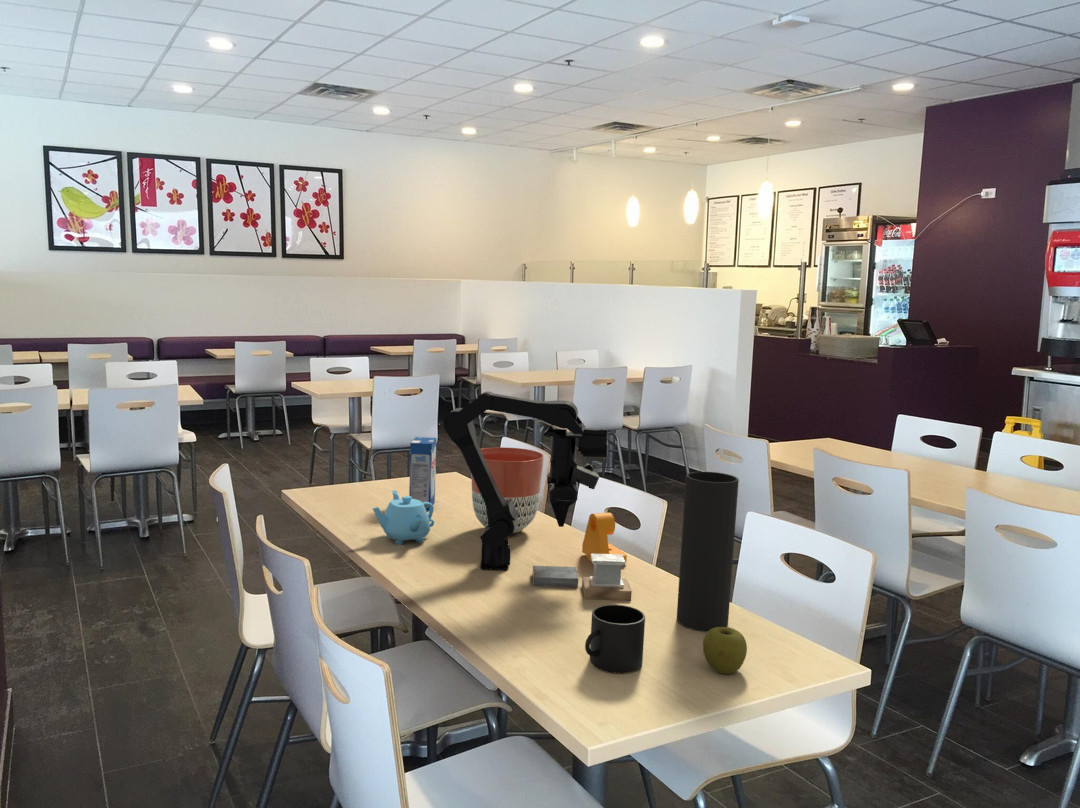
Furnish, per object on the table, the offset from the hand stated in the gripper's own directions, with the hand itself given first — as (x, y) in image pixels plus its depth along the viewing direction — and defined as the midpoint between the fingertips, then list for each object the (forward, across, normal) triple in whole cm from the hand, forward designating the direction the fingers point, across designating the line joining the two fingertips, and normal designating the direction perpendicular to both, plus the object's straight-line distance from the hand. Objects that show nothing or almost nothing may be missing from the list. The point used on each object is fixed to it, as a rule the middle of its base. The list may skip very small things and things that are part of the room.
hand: (560, 521), depth 198 cm
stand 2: (+12, -14, -10) cm, 21 cm away
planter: (+12, +31, +13) cm, 36 cm away
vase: (+12, -29, -28) cm, 42 cm away
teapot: (+12, +21, +39) cm, 46 cm away
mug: (+12, -50, -7) cm, 52 cm away
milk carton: (+12, +55, +38) cm, 68 cm away
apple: (+12, -51, -27) cm, 59 cm away
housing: (+10, -14, -10) cm, 20 cm away
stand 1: (+12, -7, +1) cm, 14 cm away
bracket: (+12, +9, -12) cm, 19 cm away
